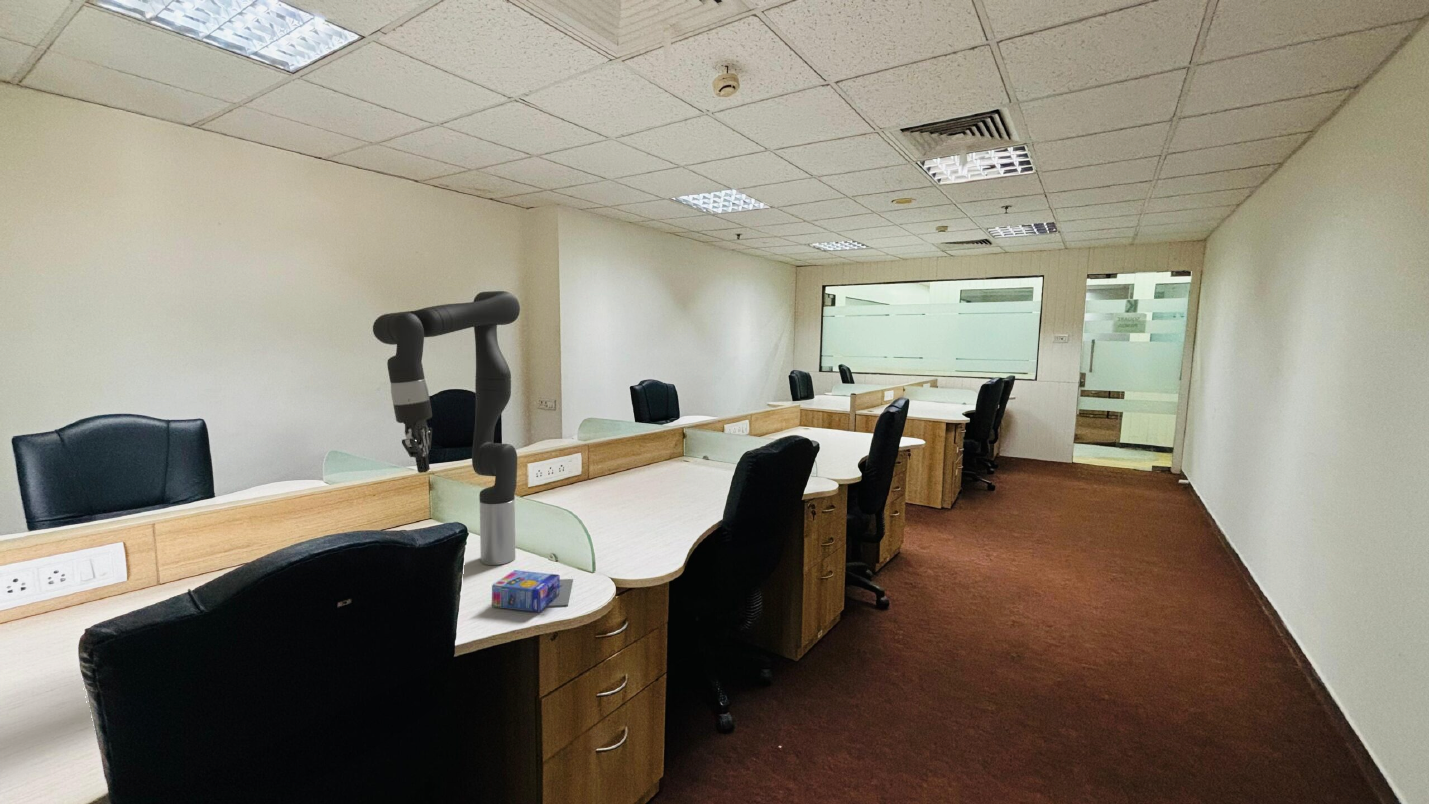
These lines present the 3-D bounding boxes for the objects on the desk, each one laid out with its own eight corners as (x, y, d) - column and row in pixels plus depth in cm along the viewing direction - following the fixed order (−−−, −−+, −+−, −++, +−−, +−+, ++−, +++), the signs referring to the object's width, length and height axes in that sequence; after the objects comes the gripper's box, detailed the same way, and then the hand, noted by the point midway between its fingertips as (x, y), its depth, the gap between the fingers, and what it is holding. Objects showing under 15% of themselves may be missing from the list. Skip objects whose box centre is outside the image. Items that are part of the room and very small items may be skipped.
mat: (522, 582, 143) (522, 581, 143) (573, 580, 145) (573, 578, 145) (511, 609, 129) (511, 607, 129) (567, 606, 131) (567, 604, 131)
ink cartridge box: (514, 567, 138) (569, 574, 135) (514, 589, 138) (568, 596, 136) (491, 583, 128) (549, 591, 125) (490, 607, 129) (549, 615, 126)
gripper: (417, 403, 124) (431, 478, 127) (437, 393, 137) (449, 462, 140) (381, 406, 123) (395, 482, 126) (405, 396, 136) (417, 465, 139)
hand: (424, 471), depth 133 cm, fingers closed
